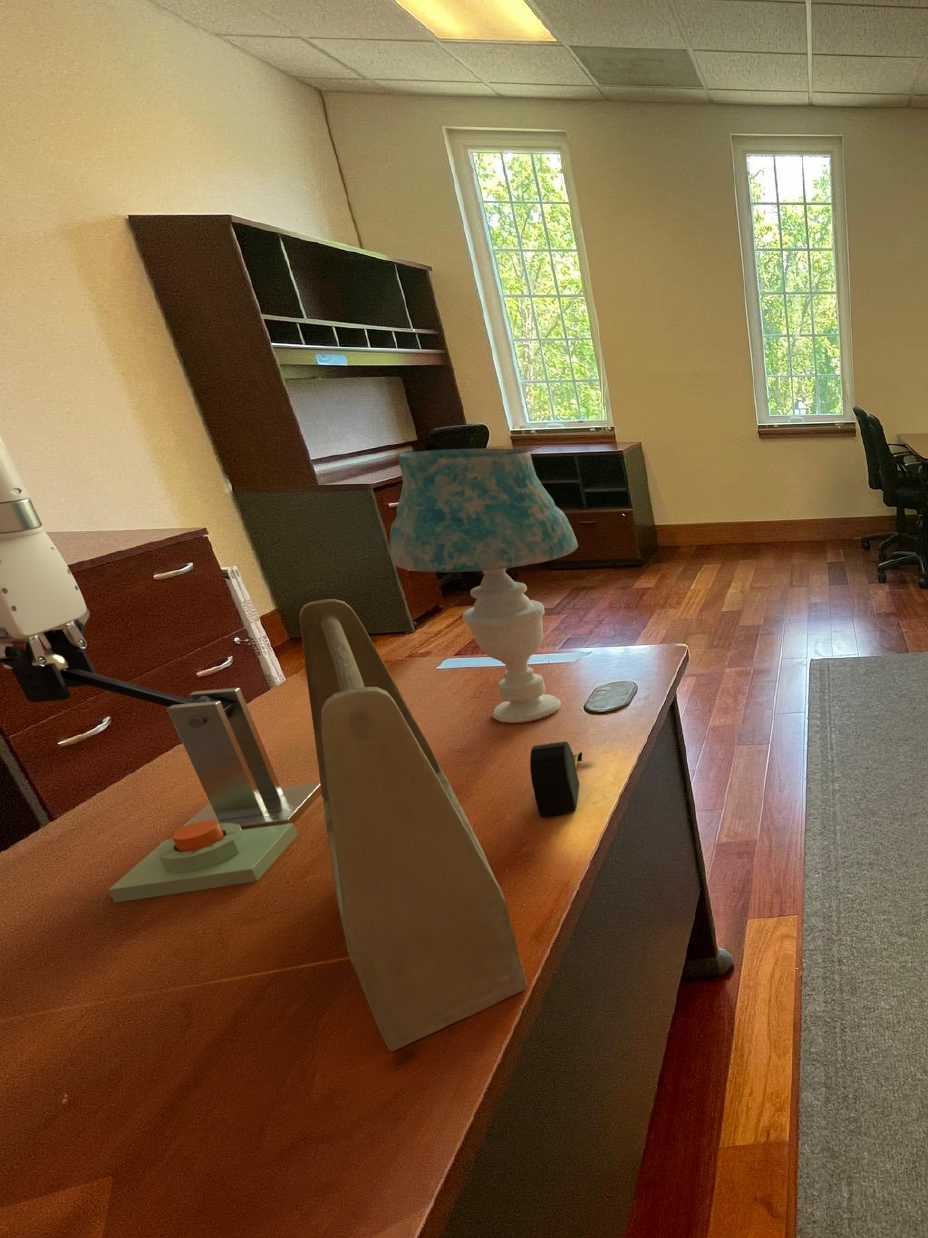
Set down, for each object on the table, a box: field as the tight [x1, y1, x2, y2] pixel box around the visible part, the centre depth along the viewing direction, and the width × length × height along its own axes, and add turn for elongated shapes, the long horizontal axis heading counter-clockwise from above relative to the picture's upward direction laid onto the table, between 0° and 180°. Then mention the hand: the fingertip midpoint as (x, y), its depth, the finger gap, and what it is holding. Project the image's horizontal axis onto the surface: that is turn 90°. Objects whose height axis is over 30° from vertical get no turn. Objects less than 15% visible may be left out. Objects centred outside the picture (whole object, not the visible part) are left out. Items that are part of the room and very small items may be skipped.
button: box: [171, 820, 224, 852], centre depth 76 cm, size 4×4×2 cm
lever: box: [44, 650, 233, 719], centre depth 79 cm, size 17×3×3 cm, turn 108°
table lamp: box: [389, 447, 579, 724], centre depth 108 cm, size 24×24×40 cm
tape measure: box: [529, 741, 583, 818], centre depth 92 cm, size 15×4×8 cm, turn 21°
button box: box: [108, 823, 298, 903], centre depth 77 cm, size 12×9×4 cm
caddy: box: [299, 598, 528, 1053], centre depth 63 cm, size 29×11×30 cm, turn 41°
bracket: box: [166, 687, 322, 830], centre depth 84 cm, size 11×9×16 cm
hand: (65, 691), depth 77 cm, fingers closed on lever, 3 cm apart
